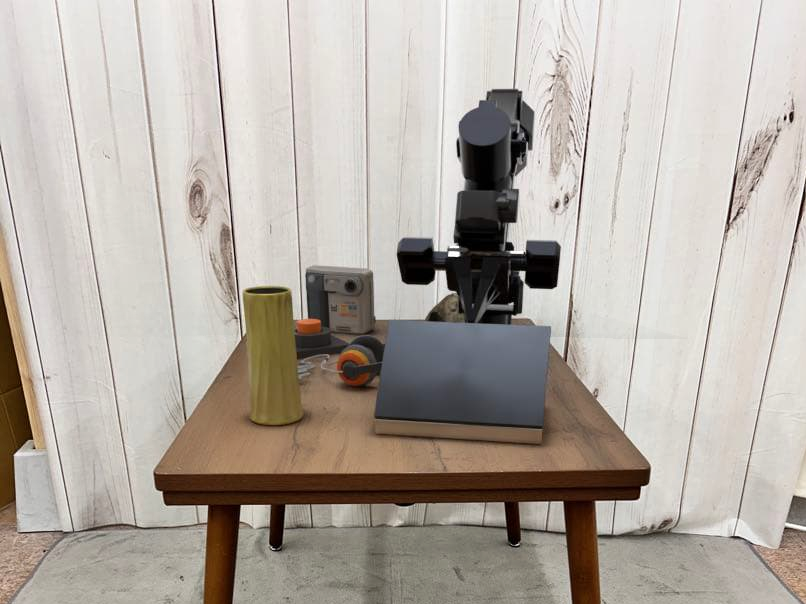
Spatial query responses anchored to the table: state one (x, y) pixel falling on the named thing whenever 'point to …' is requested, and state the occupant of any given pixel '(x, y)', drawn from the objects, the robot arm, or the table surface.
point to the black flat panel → (464, 374)
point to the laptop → (458, 431)
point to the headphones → (354, 361)
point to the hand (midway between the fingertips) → (471, 324)
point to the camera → (341, 298)
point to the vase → (272, 355)
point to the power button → (308, 326)
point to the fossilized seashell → (446, 311)
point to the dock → (318, 343)
